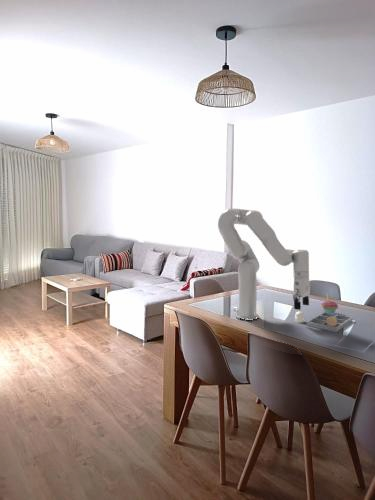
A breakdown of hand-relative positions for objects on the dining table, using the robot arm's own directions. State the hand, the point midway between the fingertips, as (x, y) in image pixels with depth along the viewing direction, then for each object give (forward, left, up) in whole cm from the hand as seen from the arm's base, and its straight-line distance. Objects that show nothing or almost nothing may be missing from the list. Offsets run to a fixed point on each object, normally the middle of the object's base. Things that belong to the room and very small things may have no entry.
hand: (301, 307), depth 188 cm
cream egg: (-1, 0, -8) cm, 8 cm away
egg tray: (+12, +7, -8) cm, 16 cm away
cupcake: (+5, +25, -8) cm, 27 cm away
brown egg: (+16, 0, -8) cm, 17 cm away
